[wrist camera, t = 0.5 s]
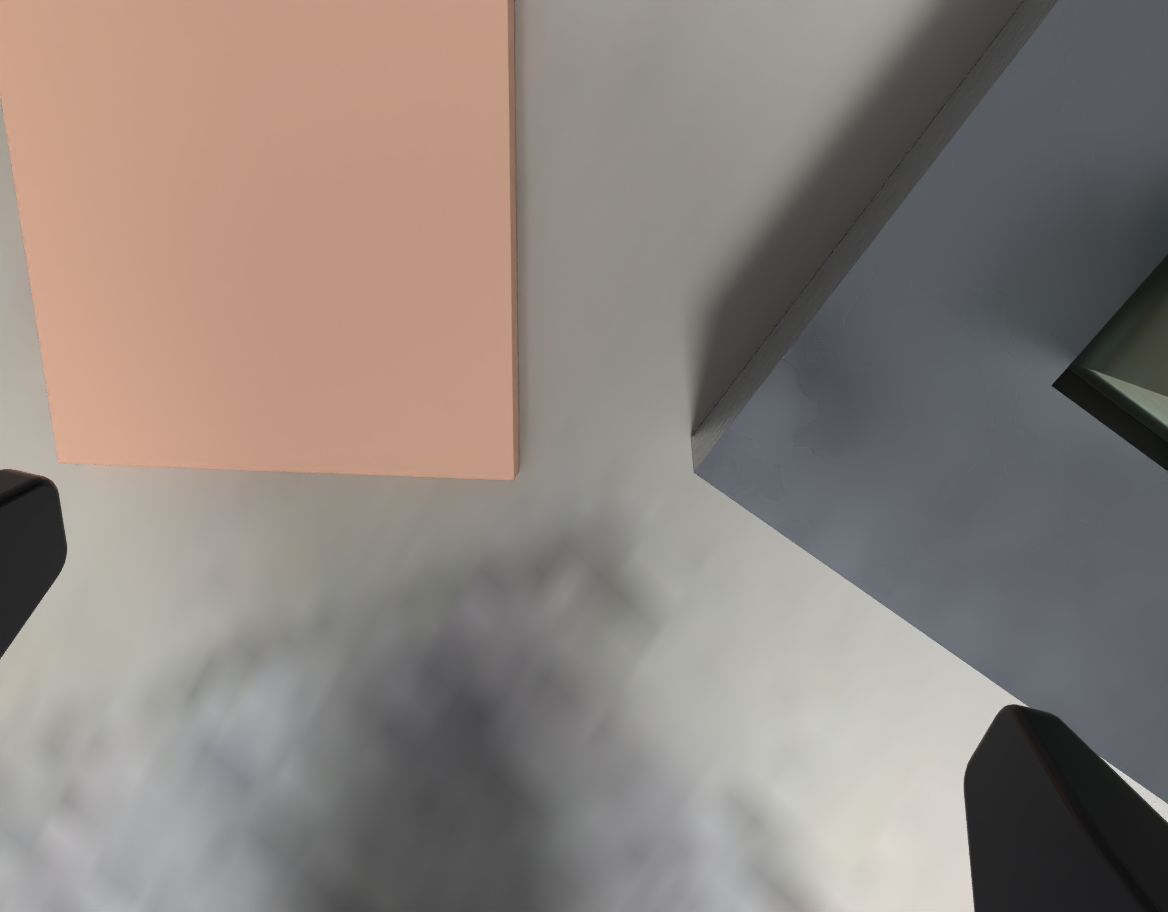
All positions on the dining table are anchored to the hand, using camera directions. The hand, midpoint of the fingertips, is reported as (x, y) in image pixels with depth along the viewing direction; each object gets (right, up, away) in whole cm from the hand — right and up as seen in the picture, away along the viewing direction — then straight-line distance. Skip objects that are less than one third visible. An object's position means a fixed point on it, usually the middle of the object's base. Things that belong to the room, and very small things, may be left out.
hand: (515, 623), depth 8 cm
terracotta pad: (-7, +7, +13) cm, 16 cm away
